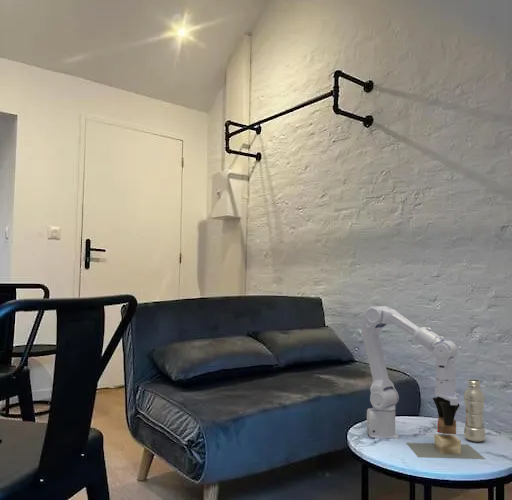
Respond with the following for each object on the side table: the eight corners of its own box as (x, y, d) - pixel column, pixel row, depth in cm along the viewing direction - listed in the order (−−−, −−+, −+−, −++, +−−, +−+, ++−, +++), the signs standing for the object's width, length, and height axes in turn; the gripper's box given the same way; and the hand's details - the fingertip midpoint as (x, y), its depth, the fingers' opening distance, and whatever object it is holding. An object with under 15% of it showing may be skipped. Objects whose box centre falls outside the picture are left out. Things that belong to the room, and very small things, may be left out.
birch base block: (441, 453, 148) (440, 440, 148) (434, 447, 154) (434, 434, 154) (460, 454, 148) (460, 440, 148) (453, 447, 154) (453, 434, 154)
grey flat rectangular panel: (418, 458, 145) (418, 457, 145) (406, 443, 158) (406, 442, 158) (485, 460, 144) (485, 459, 144) (468, 445, 157) (468, 444, 157)
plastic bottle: (488, 441, 162) (487, 380, 163) (481, 445, 157) (480, 383, 158) (468, 436, 166) (468, 377, 167) (460, 441, 161) (460, 380, 163)
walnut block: (443, 433, 150) (442, 420, 150) (438, 430, 154) (438, 417, 154) (456, 434, 150) (455, 421, 150) (451, 430, 154) (451, 417, 154)
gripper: (467, 384, 146) (468, 430, 145) (449, 375, 160) (450, 417, 159) (444, 383, 146) (444, 429, 145) (428, 374, 160) (428, 416, 160)
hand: (446, 423), depth 152 cm, fingers closed on walnut block, 4 cm apart
